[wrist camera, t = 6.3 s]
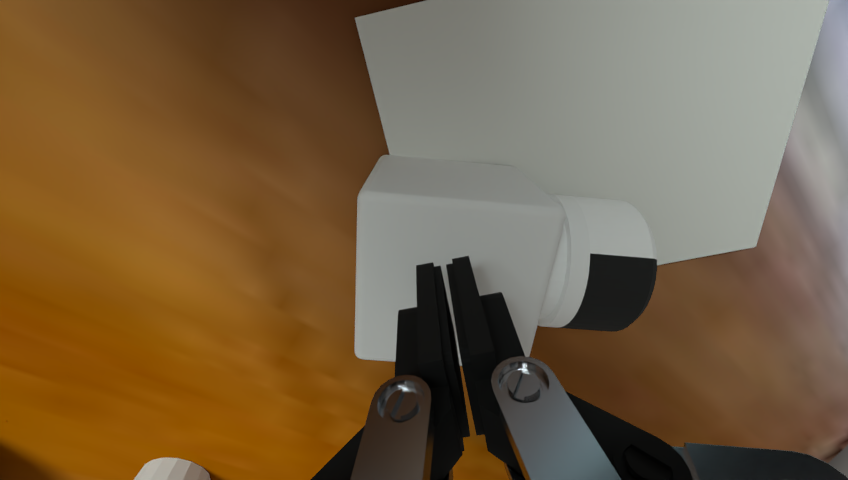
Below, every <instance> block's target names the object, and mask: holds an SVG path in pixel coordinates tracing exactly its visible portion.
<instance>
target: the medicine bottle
mask: <svg viewBox="0 0 848 480" xmlns="http://www.w3.org/2000/svg"><path fill="white" fill-rule="evenodd" d="M464 256H469V259H470V262H471V266H472V270H473V274H474V277H475V281H476V285H477V288H478V292H479V296H481V295H487V294H493V293H498V292H502V294H503V296H504V299H505V302H506V305H507V307H508V310H509V313H510V316H511V318H512V321H513V324H514V327H515V329H516V332H517V335H518V338H519V340H520V343H521V346H522V349H523V351H524V354H525V357H529V356H530V352H531V348H532V344H533V340H534V337H535V333H536V329H537V325H538V326H543V327H557V328H571V329H585V330H599V331H619V330H622V329H624V328H626V327H628V326H629V325H630V324H631V323H633V322H634V321H635V320H636V319H637V318H638V317H639V316H640V315H641V314H642V313H643V311H644V309H645V308H646V306H647V304H648V302H649V300H650V298H651V295H652V292H653V289H654V285H655V280H656V272H657V253H656V246H655V241H654V237H653V234H652V231H651V229H650V227H649V224H648V223H647V221H646V220H645V218H644V217H643V216H642V215H641V213H640V212H639V211H638V210H637V209H636V208H635V207H634V206H633V205H631V204H630V203H628V202H626V201H621V200H611V199H600V198H588V197H577V196H565V195H554V194H547V193H546V192H544V191H543V190H542V189H541V188H540V187H539V186H537V185H536V184H535V183H534V182H533V181H532V180H530V179H529V178H528V177H527V176H526V175H524V174H523V173H522V172H521V171H520V170H519V169H517V168H516V167H514V166H505V165H494V164H483V163H472V162H461V161H450V160H439V159H428V158H417V157H406V156H395V155H382V156H381V157H380V158H379V160H378V161H377V163H376V165H375V166H374V168H373V170H372V171H371V173H370V175H369V177H368V178H367V180H366V182H365V183H364V185H363V187H362V189H361V190H360V192H359V194H358V198H357V244H356V297H355V355H356V356H357V357H358V358H360V359H364V360H379V361H394V362H396V342H397V323H398V311H399V310H402V309H407V308H413V307H417V287H416V265H421V264H426V263H432V262H433V264H434V267H435V266H441V270H442V275H443V280H444V284H445V289H446V294H447V299H448V303H449V308H450V313H451V318H452V323H453V327H454V332H455V338H456V345H457V351H458V358H459V365H460V366H462V362H461V357H460V351H459V345H458V339H457V332H456V326H455V319H454V313H453V307H452V300H451V294H450V287H449V281H448V274H447V268H446V264H452V263H453V262H452V259H454V258H459V257H464Z"/></svg>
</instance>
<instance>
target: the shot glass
mask: <svg viewBox="0 0 848 480" xmlns="http://www.w3.org/2000/svg"><path fill="white" fill-rule="evenodd" d="M134 480H211V479H210V475H209V473H208V472H207V471H206V470H205V469H204V468H203V467H201V466H199V465H197V464H195V463H194V462H191V461H187V460H183V459H180V458H159V459H154V460H152V461H150V462H148V463H147V464H145V465H144V466H143V468H142V469H141V471H140V472H139V473H138V475H137V476H136V477H135V479H134Z"/></svg>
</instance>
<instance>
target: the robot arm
mask: <svg viewBox="0 0 848 480" xmlns="http://www.w3.org/2000/svg"><path fill="white" fill-rule="evenodd" d="M452 262H453V263H452V264H446V268H447V274H448V281H449V287H450V294H451V300H452V307H453V313H454V319H455V326H456V332H457V339H458V345H459V351H460V357H461V362H462V367H463V372H464V377H465V382H466V386H467V391H468V396H469V401H470V406H471V410H472V415H473V420H474V425H475V429H476V434H477V435H482V434H485V438H486V443H487V448H488V451H489V452H490V453H492V454H493V455H495V456H496V457H497V458H499V459H500V460H502V461H503V462H504V465H505V469H506V472H507V475H508V478H509V480H848V478H847V477H846V476H845V475H844V474H842V473H841V472H839V471H838V470H837V469H835V468H834V467H832V466H831V465H829V464H828V463H826V462H824V461H822V460H819V459H817V458H815V457H813V456H810V455H807V454H803V453H798V452H794V451H784V450H771V449H759V448H746V447H734V446H721V445H709V444H696V443H684V447H672V446H670V445H669V444H667V443H665V442H664V441H662V440H661V439H659V438H657V437H655V436H653V435H651V434H649V433H647V432H645V431H643V430H641V429H639V428H637V427H635V426H633V425H631V424H629V423H627V422H626V421H624V420H622V419H620V418H618V417H616V416H614V415H612V414H610V413H608V412H606V411H604V410H602V409H600V408H598V407H596V406H594V405H592V404H590V403H588V402H586V401H584V400H582V399H580V398H578V397H576V396H574V395H572V394H570V393H568V392H566V391H565V390H564V389H563V387H562V386H561V384H560V382H559V381H558V379H557V378H556V376H555V375H554V373H553V372H552V370H551V369H550V368H549V367H548V366H547V365H546V364H544V363H543V362H541V361H540V360H537V359H534V358H531V357H525V354H524V351H523V349H522V346H521V343H520V340H519V338H518V335H517V332H516V329H515V327H514V324H513V321H512V318H511V316H510V313H509V310H508V307H507V305H506V302H505V299H504V296H503V294H502V292H498V293H493V294H487V295H481V296H479V292H478V288H477V285H476V281H475V277H474V274H473V270H472V266H471V262H470V259H469V256H464V257H459V258H454V259H452ZM416 287H417V307H413V308H407V309H402V310H399V311H398V323H397V342H396V362H395V377H394V378H392V379H390V380H388V381H387V382H385V383H384V384H383V385H381V386H380V388H379V389H378V390H377V391H376V392H375V394H374V397H373V399H372V402H371V405H370V409H369V413H368V416H367V420H366V424H365V426H364V427H363V428H362V429H361V430H360V431H359V432H358V433H357V434H356V435H355V436H354V437H353V438H352V439H351V440H350V441H349V442H348V443H347V444H346V445H345V446H344V447H343V448H342V449H341V450H340V451H339V452H338V453H337V454H336V455H335V456H334V457H333V458H332V459H331V460H330V461H329V462H328V463H327V464H326V465H325V466H324V467H323V468H322V469H321V470H320V471H319V472H318V473H317V474H316V475H315V476H314V477H313V478H312V479H311V480H453V469H452V468H453V466H454V465H455V464H456V462H457V461H458V460H459V458H460V457H461V456H462V451H464V445H463V437H469V436H470V432H469V425H468V419H467V412H466V405H465V398H464V392H463V385H462V378H461V372H460V365H459V358H458V351H457V345H456V338H455V332H454V327H453V323H452V318H451V313H450V308H449V303H448V299H447V294H446V289H445V284H444V280H443V275H442V270H441V266H435V267H434V264H433V262H432V263H426V264H421V265H416Z"/></svg>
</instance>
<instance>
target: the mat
mask: <svg viewBox="0 0 848 480" xmlns="http://www.w3.org/2000/svg"><path fill="white" fill-rule="evenodd" d="M828 3H829V0H426V1H422V2H418V3H413V4H409V5H405V6H401V7H397V8H393V9H389V10H385V11H380V12H376V13H372V14H368V15H364V16H360V17H356V18H355V21H356V25H357V29H358V33H359V37H360V41H361V45H362V49H363V52H364V56H365V60H366V64H367V68H368V72H369V76H370V80H371V84H372V88H373V91H374V95H375V99H376V103H377V107H378V111H379V115H380V119H381V123H382V127H383V130H384V134H385V138H386V142H387V146H388V150H389V154H390V155H395V156H406V157H417V158H428V159H439V160H450V161H461V162H472V163H483V164H494V165H505V166H514V167H516V168H517V169H519V170H520V171H521V172H522V173H523V174H524V175H526V176H527V177H528V178H529V179H530V180H532V181H533V182H534V183H535V184H536V185H537V186H539V187H540V188H541V189H542V190H543V191H544V192H546V193H547V194H554V195H565V196H577V197H588V198H600V199H611V200H621V201H626V202H628V203H630V204H631V205H633V206H634V207H635V208H636V209H637V210H638V211H639V212H640V213H641V215H642V216H643V217H644V218H645V220H646V221H647V223H648V224H649V227H650V229H651V231H652V234H653V237H654V241H655V246H656V253H657V265H661V264H667V263H672V262H677V261H683V260H688V259H694V258H699V257H704V256H710V255H715V254H721V253H726V252H731V251H737V250H742V249H747V248H753V247H756V245H757V241H758V238H759V234H760V231H761V228H762V224H763V221H764V218H765V214H766V211H767V208H768V204H769V201H770V198H771V194H772V191H773V188H774V184H775V181H776V177H777V174H778V171H779V167H780V164H781V161H782V157H783V154H784V151H785V147H786V144H787V141H788V137H789V134H790V130H791V127H792V124H793V120H794V117H795V114H796V110H797V107H798V104H799V100H800V97H801V94H802V90H803V87H804V84H805V80H806V77H807V73H808V70H809V67H810V63H811V60H812V57H813V53H814V50H815V47H816V43H817V40H818V37H819V33H820V30H821V27H822V23H823V20H824V16H825V13H826V10H827V6H828Z"/></svg>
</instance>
